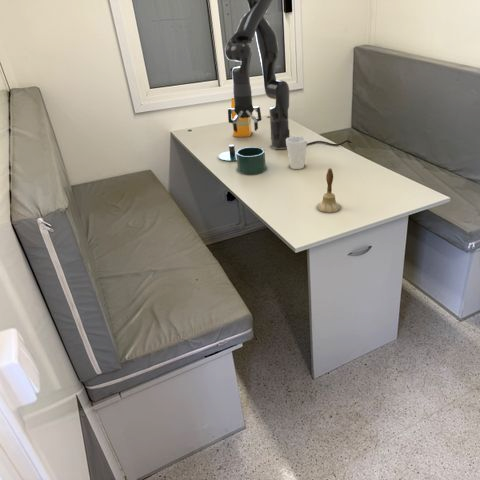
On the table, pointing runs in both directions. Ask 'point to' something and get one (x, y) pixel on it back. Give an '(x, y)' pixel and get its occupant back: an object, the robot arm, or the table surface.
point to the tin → (251, 160)
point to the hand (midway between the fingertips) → (246, 131)
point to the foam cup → (296, 151)
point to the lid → (229, 155)
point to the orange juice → (241, 124)
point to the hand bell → (329, 196)
